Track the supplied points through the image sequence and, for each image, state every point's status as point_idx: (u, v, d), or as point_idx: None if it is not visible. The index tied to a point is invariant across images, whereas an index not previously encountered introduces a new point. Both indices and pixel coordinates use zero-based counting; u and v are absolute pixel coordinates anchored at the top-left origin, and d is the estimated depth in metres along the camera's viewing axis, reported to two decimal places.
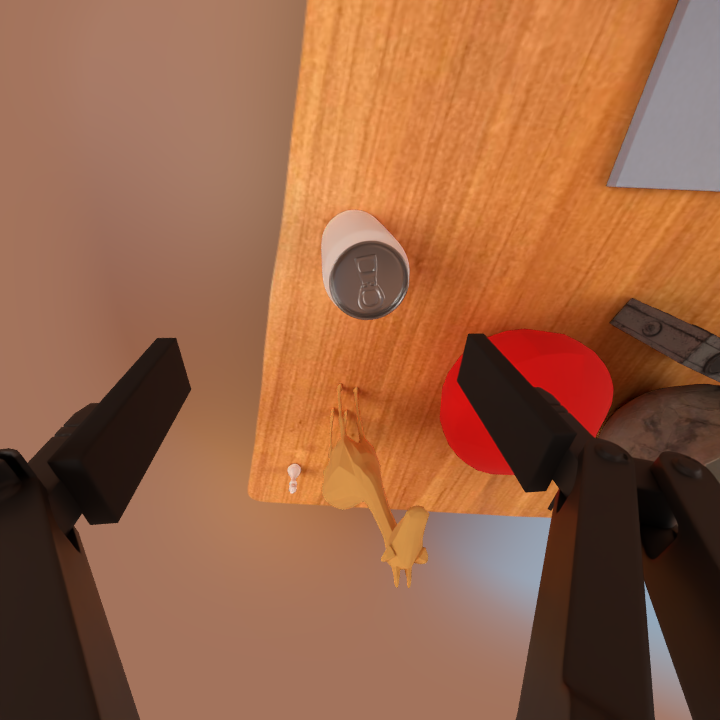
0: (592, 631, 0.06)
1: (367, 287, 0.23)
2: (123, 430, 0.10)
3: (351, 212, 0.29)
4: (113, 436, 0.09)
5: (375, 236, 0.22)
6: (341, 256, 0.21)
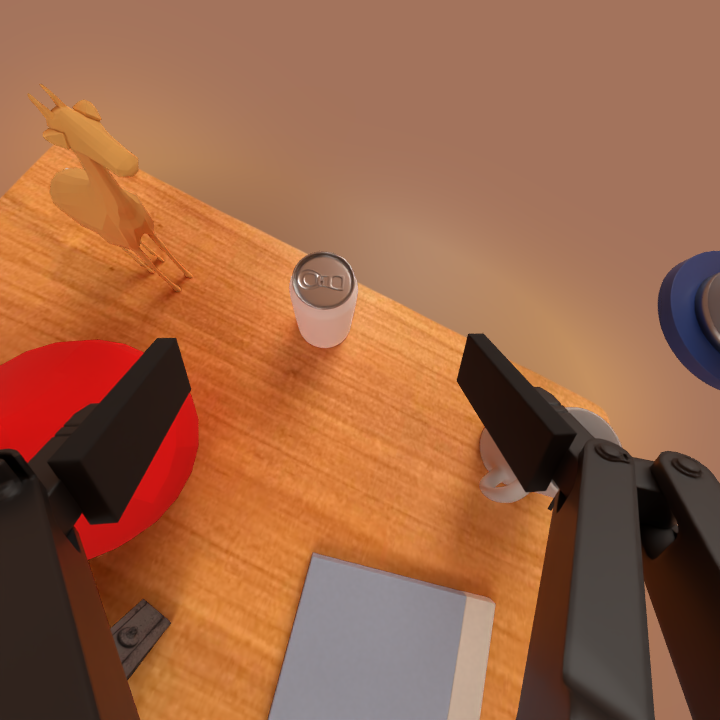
0: (592, 631, 0.06)
1: (319, 279, 0.29)
2: (123, 430, 0.10)
3: None
4: (113, 436, 0.09)
5: (353, 296, 0.30)
6: (348, 266, 0.29)
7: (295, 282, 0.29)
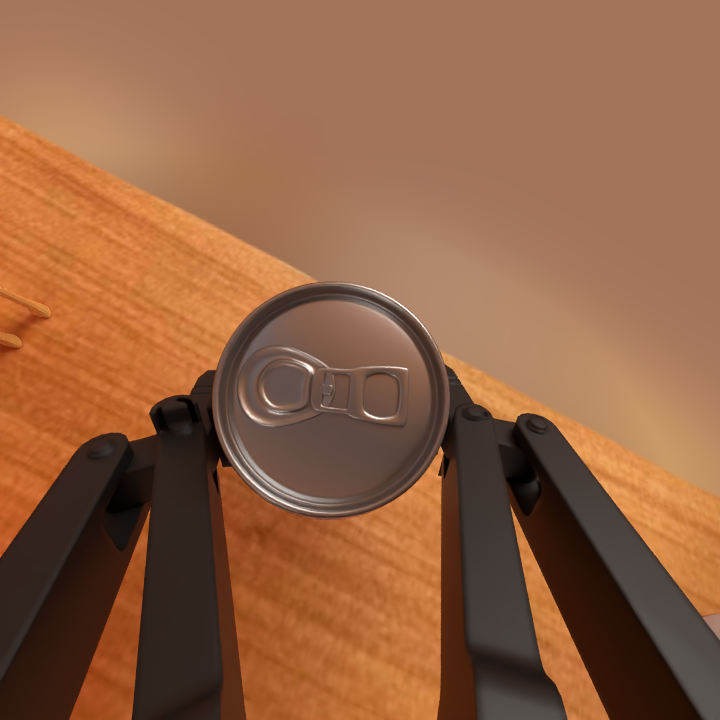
0: (483, 588, 0.06)
1: (319, 384, 0.08)
2: None
3: None
4: None
5: None
6: (423, 337, 0.08)
7: (228, 398, 0.08)
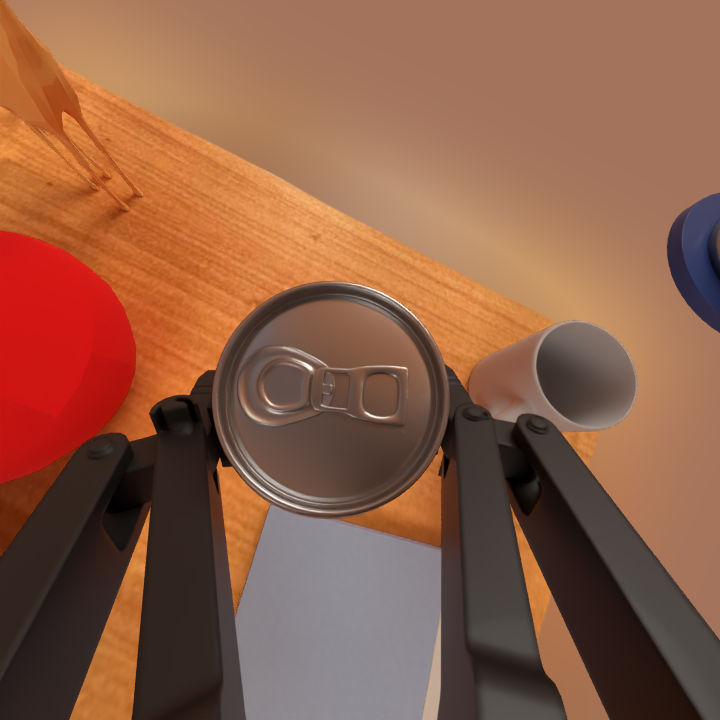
0: (483, 588, 0.06)
1: (319, 384, 0.08)
2: None
3: None
4: None
5: None
6: (422, 336, 0.08)
7: (228, 398, 0.08)
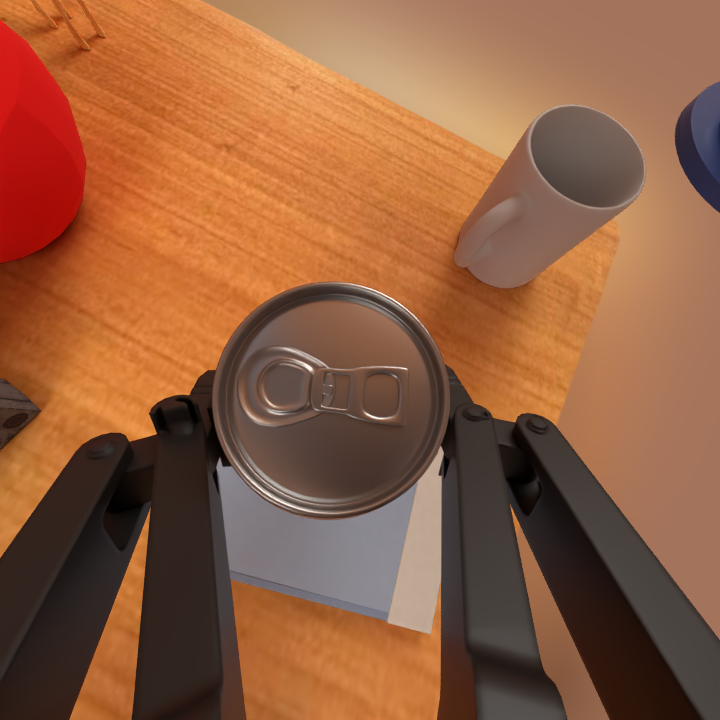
0: (482, 587, 0.06)
1: (319, 384, 0.08)
2: None
3: None
4: None
5: None
6: (423, 337, 0.08)
7: (228, 398, 0.08)
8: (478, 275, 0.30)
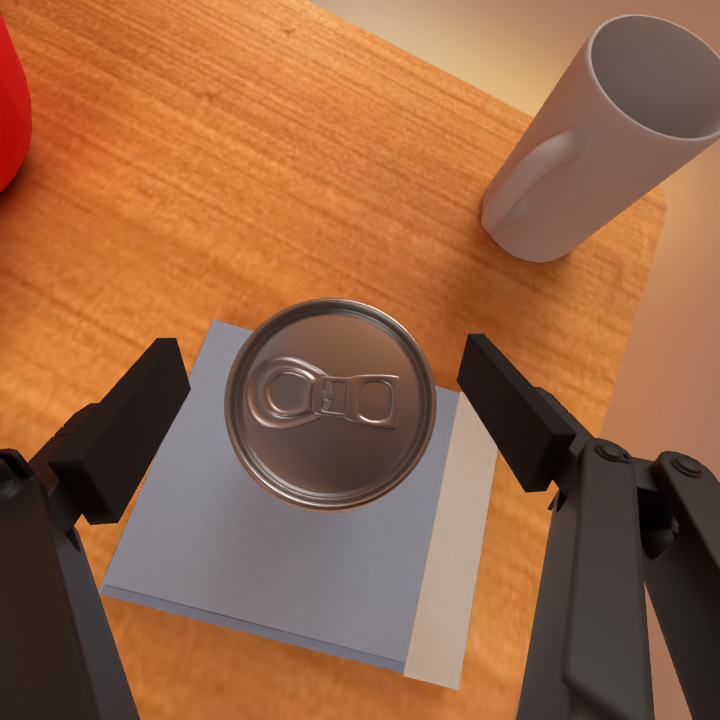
0: (592, 631, 0.06)
1: (319, 391, 0.09)
2: (123, 430, 0.10)
3: None
4: (113, 436, 0.09)
5: None
6: (412, 348, 0.09)
7: (238, 404, 0.09)
8: (506, 246, 0.25)
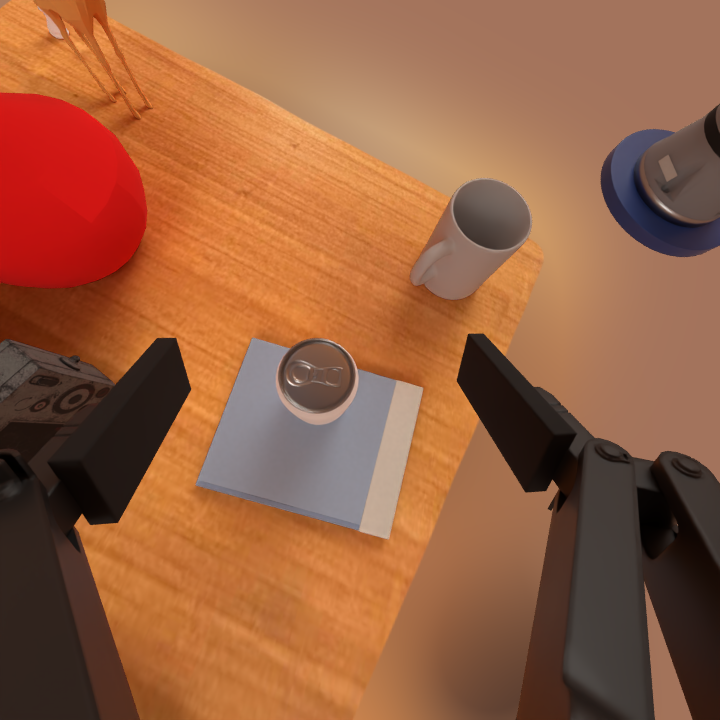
0: (592, 631, 0.06)
1: (312, 373, 0.24)
2: (123, 430, 0.10)
3: None
4: (113, 436, 0.09)
5: (353, 392, 0.24)
6: (347, 357, 0.24)
7: (282, 377, 0.24)
8: (432, 290, 0.40)
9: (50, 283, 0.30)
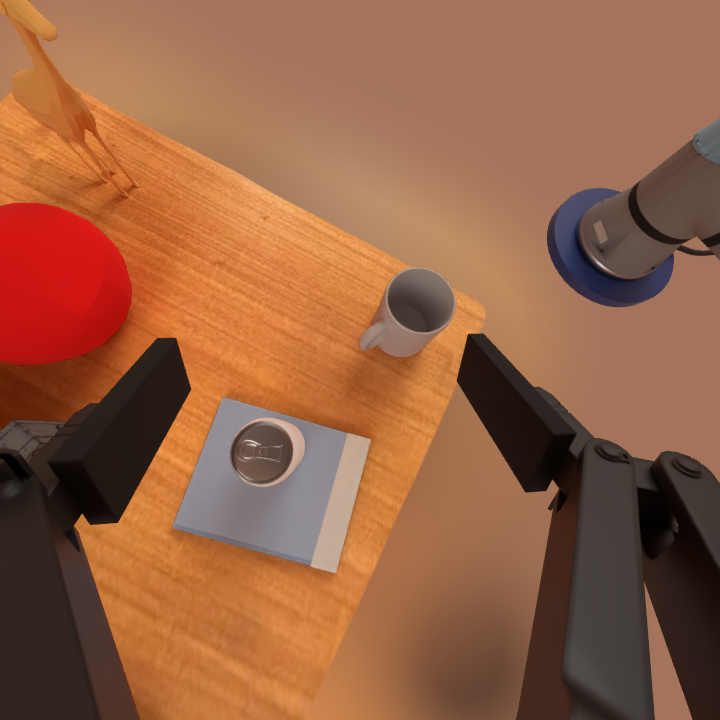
0: (592, 631, 0.06)
1: (258, 450, 0.30)
2: (123, 430, 0.10)
3: (304, 451, 0.39)
4: (113, 436, 0.09)
5: (292, 464, 0.30)
6: (287, 436, 0.30)
7: (234, 454, 0.29)
8: (382, 350, 0.46)
9: (49, 362, 0.36)
